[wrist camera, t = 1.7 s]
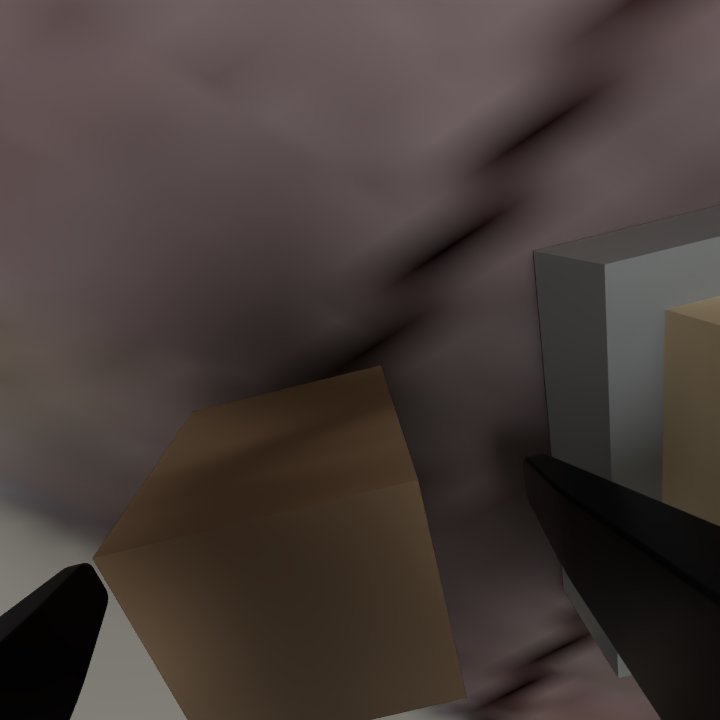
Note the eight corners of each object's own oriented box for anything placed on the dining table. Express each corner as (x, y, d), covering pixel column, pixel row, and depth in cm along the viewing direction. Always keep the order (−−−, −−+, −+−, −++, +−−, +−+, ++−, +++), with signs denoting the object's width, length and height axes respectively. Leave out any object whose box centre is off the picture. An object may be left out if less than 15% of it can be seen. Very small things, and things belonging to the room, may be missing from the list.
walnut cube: (380, 364, 10) (418, 480, 6) (416, 516, 11) (467, 697, 7) (194, 409, 10) (92, 558, 6) (254, 554, 11) (209, 757, 7)
